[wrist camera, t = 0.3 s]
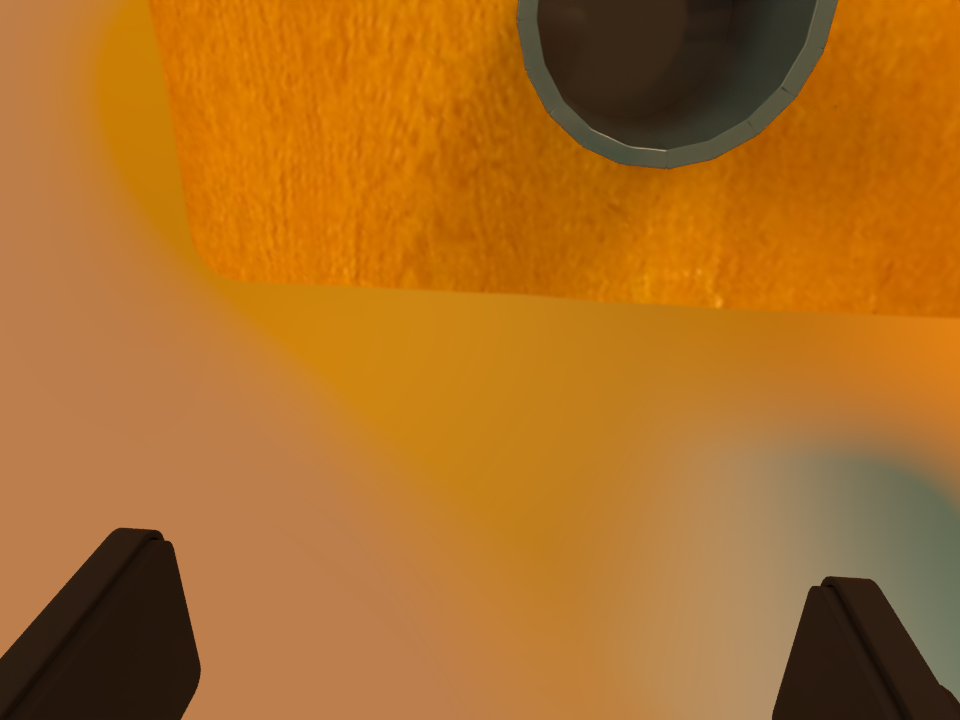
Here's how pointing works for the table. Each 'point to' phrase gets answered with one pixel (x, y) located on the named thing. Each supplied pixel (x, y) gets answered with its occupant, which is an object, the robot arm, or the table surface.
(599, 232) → the table surface
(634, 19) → the canister
